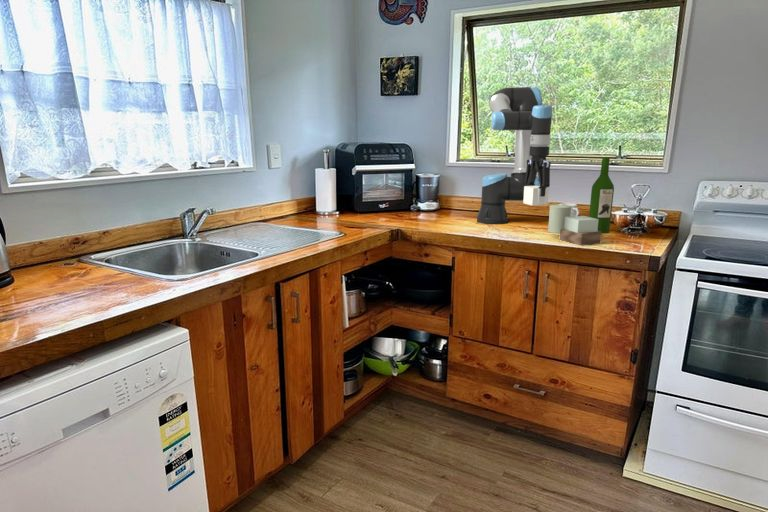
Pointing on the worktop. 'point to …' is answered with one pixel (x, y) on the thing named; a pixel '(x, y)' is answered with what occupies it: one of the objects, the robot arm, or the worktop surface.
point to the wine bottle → (602, 198)
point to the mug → (572, 208)
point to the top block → (581, 224)
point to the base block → (580, 237)
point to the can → (558, 217)
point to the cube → (534, 195)
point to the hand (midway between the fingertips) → (535, 202)
